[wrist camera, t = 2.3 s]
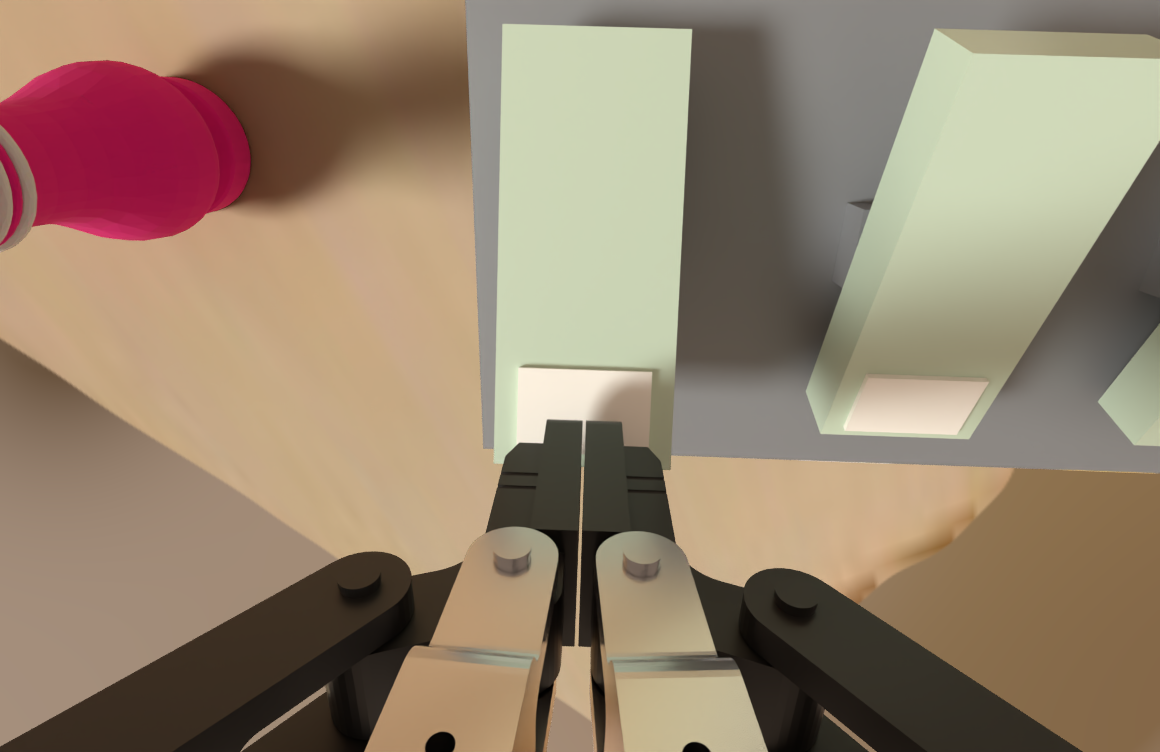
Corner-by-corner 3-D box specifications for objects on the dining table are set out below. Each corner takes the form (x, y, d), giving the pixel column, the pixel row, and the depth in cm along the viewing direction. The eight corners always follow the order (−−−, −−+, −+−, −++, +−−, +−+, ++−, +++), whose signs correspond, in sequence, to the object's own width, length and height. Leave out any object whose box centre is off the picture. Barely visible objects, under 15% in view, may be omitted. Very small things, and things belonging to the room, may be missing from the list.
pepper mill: (236, 57, 29) (-370, -13, 11) (280, 215, 32) (-141, 368, 14) (89, 73, 30) (-731, 31, 11) (145, 227, 33) (-436, 391, 14)
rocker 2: (935, 28, 11) (977, 56, 10) (1147, 34, 11) (1217, 63, 10) (805, 391, 17) (821, 438, 16) (943, 396, 17) (971, 443, 16)
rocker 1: (512, 56, 14) (501, 20, 12) (680, 60, 14) (693, 26, 12) (503, 447, 15) (492, 464, 13) (662, 453, 15) (671, 471, 13)
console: (532, 17, 28) (451, -86, 13) (1024, 31, 28) (1567, -57, 12) (533, 300, 34) (477, 475, 18) (945, 314, 33) (1255, 504, 18)
